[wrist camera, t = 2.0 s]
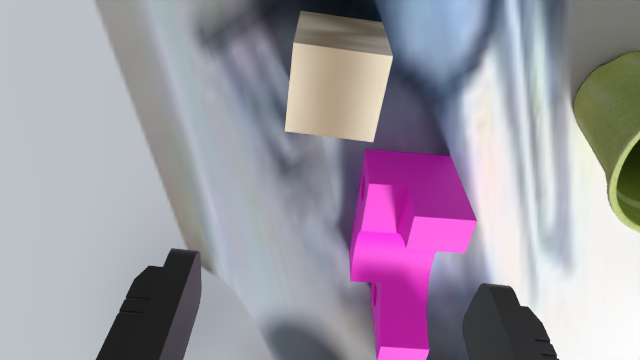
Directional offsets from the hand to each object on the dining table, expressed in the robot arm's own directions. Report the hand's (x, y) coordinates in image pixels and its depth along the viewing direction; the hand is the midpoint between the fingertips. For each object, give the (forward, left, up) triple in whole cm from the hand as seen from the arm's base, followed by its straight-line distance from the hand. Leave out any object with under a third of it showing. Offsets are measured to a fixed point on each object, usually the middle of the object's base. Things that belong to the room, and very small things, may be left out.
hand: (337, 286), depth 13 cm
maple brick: (0, 0, -19) cm, 19 cm away
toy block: (-7, +14, -19) cm, 25 cm away
